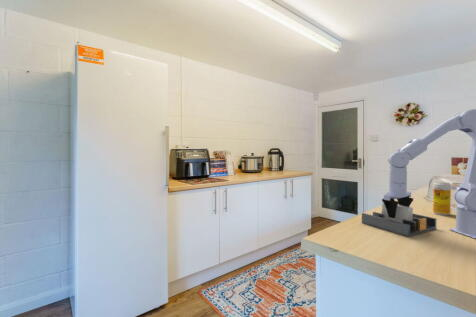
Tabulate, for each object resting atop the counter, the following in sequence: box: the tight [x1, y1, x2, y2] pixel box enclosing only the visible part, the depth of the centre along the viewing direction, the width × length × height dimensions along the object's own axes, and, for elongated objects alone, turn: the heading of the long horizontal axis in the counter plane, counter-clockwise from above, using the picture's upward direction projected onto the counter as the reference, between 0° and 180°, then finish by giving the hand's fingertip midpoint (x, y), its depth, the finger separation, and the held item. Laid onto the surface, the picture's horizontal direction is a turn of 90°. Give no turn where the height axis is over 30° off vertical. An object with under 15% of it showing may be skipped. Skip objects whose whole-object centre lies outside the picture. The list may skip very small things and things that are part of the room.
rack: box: [361, 211, 437, 238], centre depth 94 cm, size 18×18×5 cm
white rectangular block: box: [381, 202, 414, 223], centre depth 94 cm, size 10×3×7 cm, turn 26°
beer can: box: [432, 181, 452, 216], centre depth 110 cm, size 6×6×15 cm
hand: (397, 216), depth 94 cm, fingers open, 7 cm apart
